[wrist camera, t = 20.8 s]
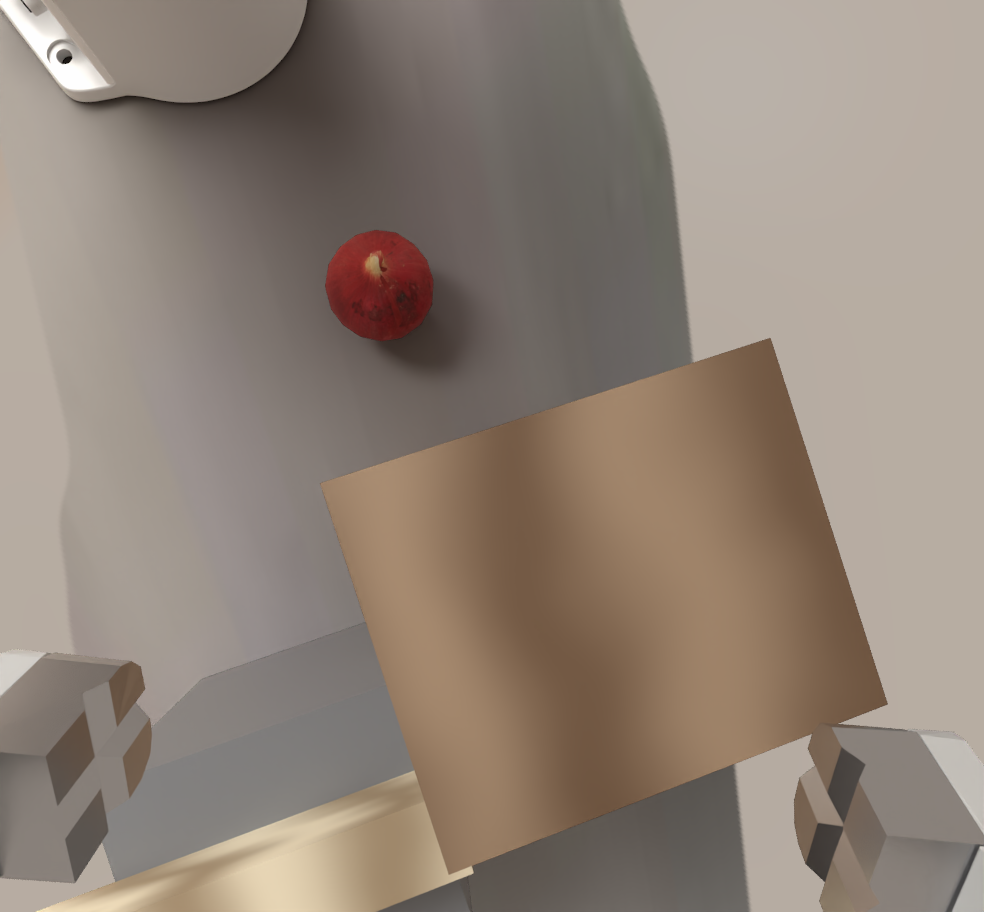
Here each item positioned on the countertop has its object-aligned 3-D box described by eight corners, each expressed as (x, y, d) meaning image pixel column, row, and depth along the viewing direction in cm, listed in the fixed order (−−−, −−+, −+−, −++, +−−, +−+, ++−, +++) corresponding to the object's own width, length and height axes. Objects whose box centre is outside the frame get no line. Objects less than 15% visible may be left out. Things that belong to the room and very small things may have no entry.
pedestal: (428, 636, 44) (448, 874, 18) (376, 476, 44) (319, 482, 18) (615, 570, 45) (887, 704, 19) (565, 415, 45) (770, 337, 19)
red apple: (451, 313, 44) (459, 278, 36) (374, 370, 44) (365, 347, 36) (392, 235, 44) (387, 183, 36) (314, 291, 43) (291, 250, 35)
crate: (256, 842, 42) (169, 1044, 27) (201, 678, 42) (85, 792, 27) (453, 769, 44) (473, 923, 29) (401, 610, 43) (394, 682, 29)
